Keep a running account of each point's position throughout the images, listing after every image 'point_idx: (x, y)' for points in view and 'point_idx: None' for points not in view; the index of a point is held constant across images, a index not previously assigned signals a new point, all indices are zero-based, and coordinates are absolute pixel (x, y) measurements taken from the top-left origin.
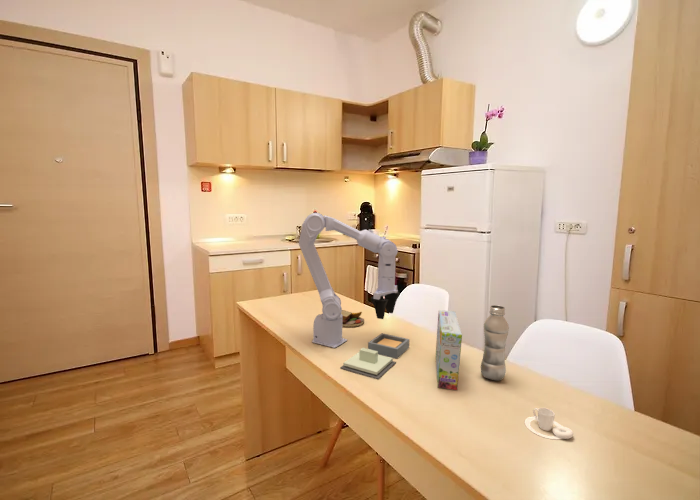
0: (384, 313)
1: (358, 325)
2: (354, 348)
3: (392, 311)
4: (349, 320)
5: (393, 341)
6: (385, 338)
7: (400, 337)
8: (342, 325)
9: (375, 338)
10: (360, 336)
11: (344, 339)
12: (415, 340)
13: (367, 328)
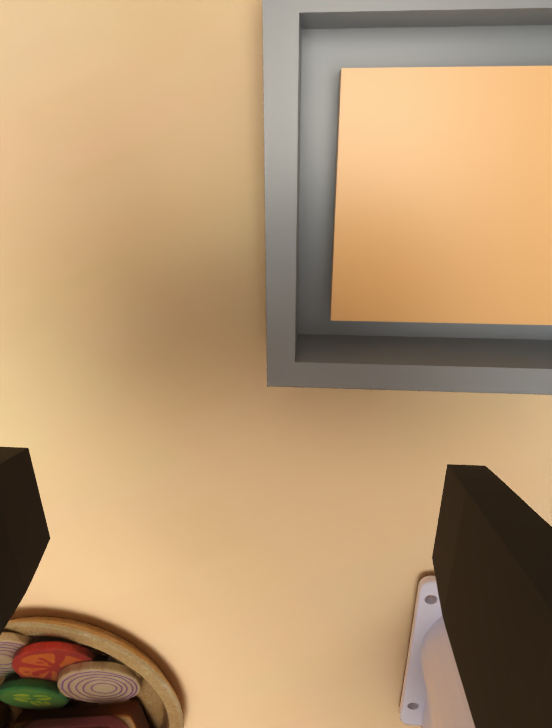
0: (496, 527)
1: (79, 625)
2: (548, 473)
3: (2, 466)
4: (60, 704)
5: (377, 182)
6: (334, 305)
7: (272, 127)
8: (178, 702)
9: (467, 379)
10: (269, 533)
11: (436, 597)
12: (4, 30)
13: (72, 555)
